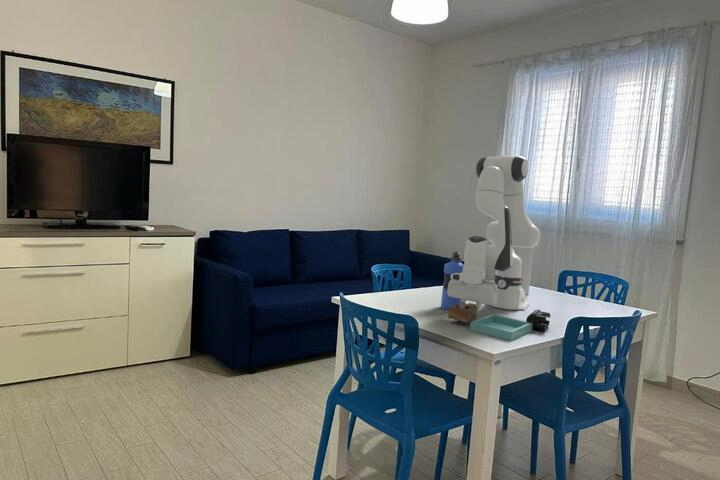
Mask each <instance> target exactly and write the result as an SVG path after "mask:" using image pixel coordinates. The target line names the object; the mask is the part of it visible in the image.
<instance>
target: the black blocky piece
mask: <svg viewBox="0 0 720 480" xmlns="http://www.w3.org/2000/svg"><path fill="white" fill-rule="evenodd" d="M548 318H551V313H550V312H545V311H541V309H535V310H533V312H531V313H530V314H529V315H528V316H526V320H525V322H530V323H533V324H532V331H533V332H538V333H546V331H548V329H549V328H550V320H547V319H548Z"/></svg>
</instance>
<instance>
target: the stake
mask: <svg viewBox="0 0 720 480" xmlns="http://www.w3.org/2000/svg"><path fill="white" fill-rule="evenodd" d="M465 306H466V302H465V303H459V308H462V309H465ZM457 324H459V325H464V324H465V322H463V321H459V320H457Z"/></svg>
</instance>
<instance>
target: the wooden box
mask: <svg viewBox="0 0 720 480" xmlns="http://www.w3.org/2000/svg"><path fill="white" fill-rule="evenodd" d="M476 307H477V305H476V303H472V302H469V303H467V304H466V306H465V309H462V308H459V304H456V305H453V306H449V310H448V316H447V318H448V319H451V320H456V321H458V320H459V321H463V322H464V323H469V322H470V323H471V322H472V321H475V320H477V317H478V316H477V315H478V313H477V308H476Z"/></svg>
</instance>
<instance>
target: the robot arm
mask: <svg viewBox="0 0 720 480" xmlns="http://www.w3.org/2000/svg"><path fill="white" fill-rule="evenodd" d="M528 172H529V163H528V160H527V159H526V158H525V157H524V156H521V155H515V156H514V155H499V156H497V155H496V156H484V157H482V158H480V159H479V160H478V161H477V163H476V167H475V174H476V176H477V179H478V182H477V186H476V191H475V196H474V197H475V198H474V199H475V206H476V208H477V209H478V210H479V211H480V212H481V213H483V214H484V215H486V216H488V217H490V218H492V219H494V220H495V221H491V222H490V223H489V224H488V225H487V226H486V230H485V234H486V235H485V236H486V237H483V236H479V235H478V236H477V235H473V236H470V237H468V238H467V240H466V244H465V248H464V253H463V256H464V257H463V261H464V264H463V265H464V267H463V272H459V273H454V274H451V277H450V278H451V279H452V280H450V282H449V284H448V290H447V294H448V296H449V297H454V298H459V299H461V303H466V302H467V301H469V302H473V303H475V304H476V305H477V307H476V308H477V314H478V313H479V309H480V308H481V306H483V305H487V306H492V307H494V308H497V309H503V310H519V311H525V310H526V309H527V308H528V307H530V302H528V301H526V295H525V292H524V290H523V288H522V287H521V282H522V281H523V277H520V276H521V267H522V261H521V259H520V257H518V256H517V255H516V254H515V252H514V250H513V246H514V247H520V248H532V247H534V248H535V247H536V246H537V245H538V244H539V243H540V240H541V231H540V230H539V227H537V226H536V225H535V224H534V223H533V222H532V220H531V219H530V218H529V216H528V213H527V210H526V207H525V193H524V184H523V183H524V182H523V181H524V180H525V179H526V177H527V176H528ZM488 241H489V242H490V243H491V244H488ZM486 269H490V270H491V269H492V270H495V274H494V277H493V280H488V279H486V273H487V272H486ZM482 304H483V305H482Z"/></svg>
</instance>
